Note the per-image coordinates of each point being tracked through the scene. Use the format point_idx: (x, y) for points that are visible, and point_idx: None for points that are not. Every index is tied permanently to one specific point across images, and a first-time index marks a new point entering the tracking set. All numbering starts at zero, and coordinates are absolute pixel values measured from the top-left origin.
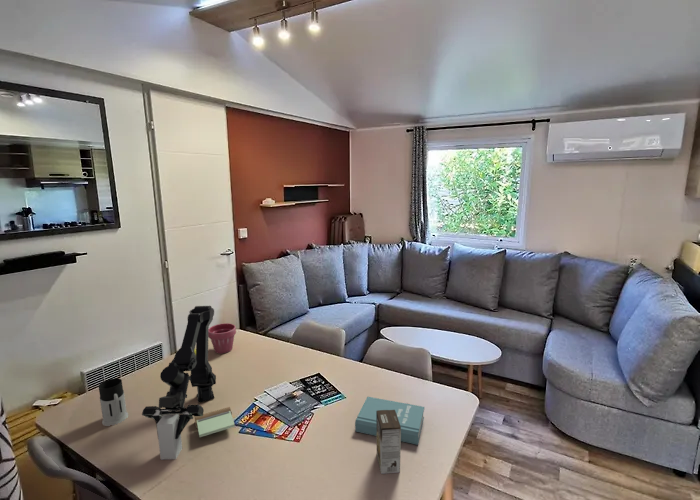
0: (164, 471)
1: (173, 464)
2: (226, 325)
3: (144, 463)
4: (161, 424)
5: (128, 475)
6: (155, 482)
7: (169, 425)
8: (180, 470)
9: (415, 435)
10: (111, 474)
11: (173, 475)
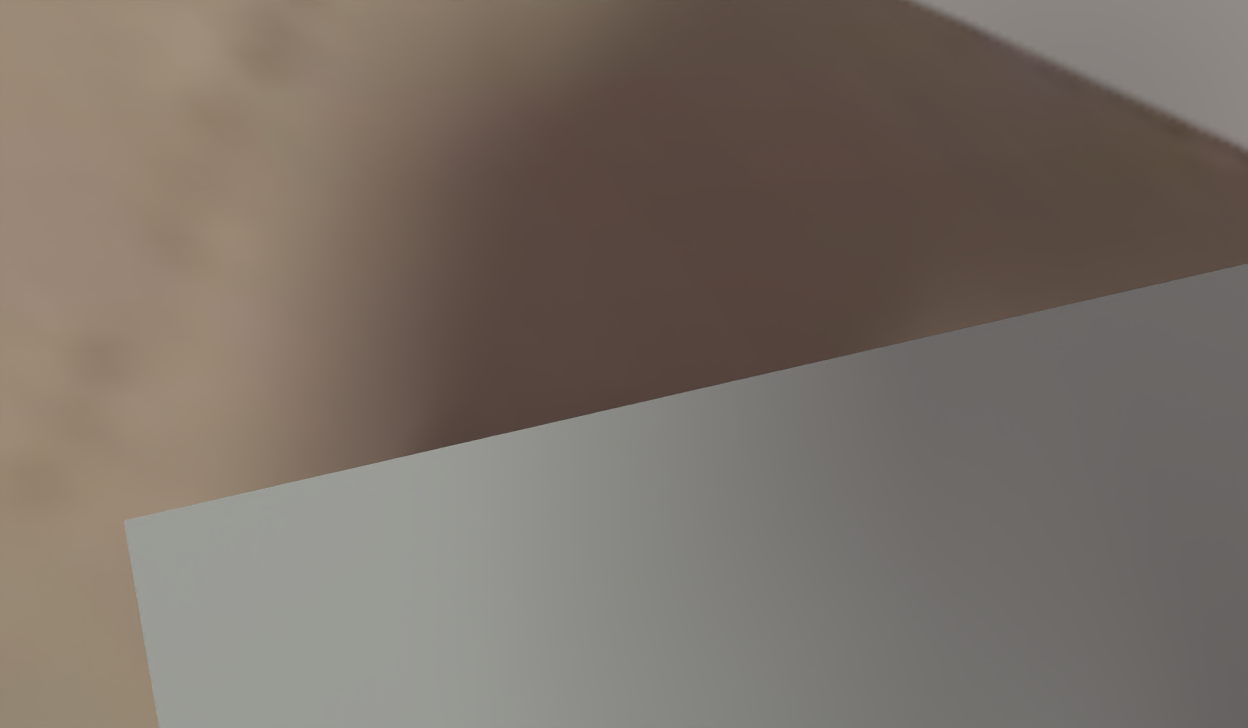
0: (359, 279)
1: (292, 472)
2: None
3: None
4: (1070, 316)
5: (909, 130)
6: (352, 38)
7: (427, 462)
8: (23, 347)
9: None
10: (1158, 123)
11: (101, 211)
